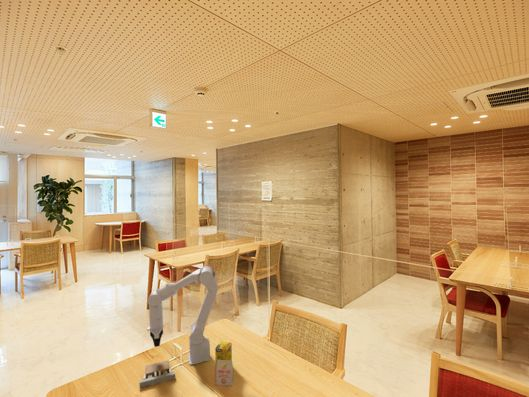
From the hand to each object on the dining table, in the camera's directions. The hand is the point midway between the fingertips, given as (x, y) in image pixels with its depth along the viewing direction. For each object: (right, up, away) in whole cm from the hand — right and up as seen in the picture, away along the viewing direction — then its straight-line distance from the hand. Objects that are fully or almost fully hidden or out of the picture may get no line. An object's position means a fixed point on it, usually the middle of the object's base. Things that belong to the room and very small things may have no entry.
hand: (157, 345), depth 128 cm
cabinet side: (+5, -9, -11) cm, 15 cm away
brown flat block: (+3, -9, -7) cm, 12 cm away
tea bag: (+33, -9, -13) cm, 37 cm away
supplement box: (+32, -9, -4) cm, 33 cm away
